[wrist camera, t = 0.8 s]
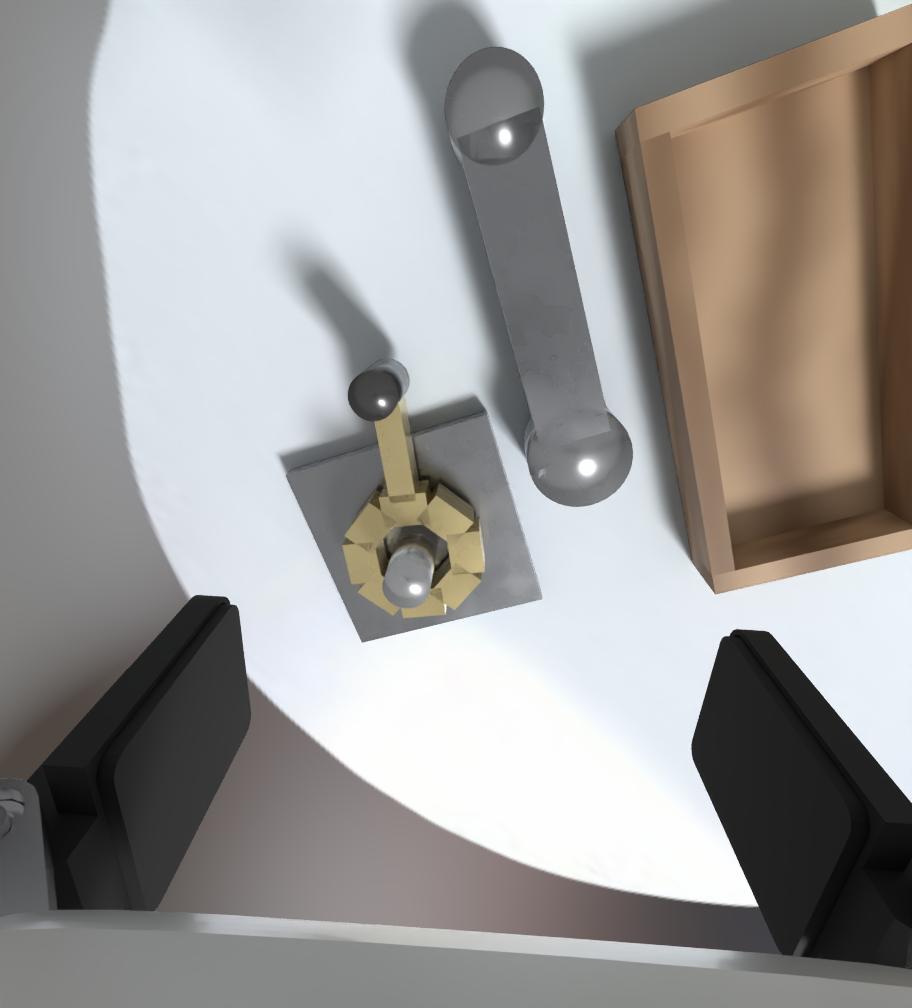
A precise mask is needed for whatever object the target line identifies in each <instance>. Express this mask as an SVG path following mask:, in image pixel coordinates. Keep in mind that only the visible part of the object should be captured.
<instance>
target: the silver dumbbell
mask: <svg viewBox="0 0 912 1008" xmlns="http://www.w3.org/2000/svg"><path fill="white" fill-rule="evenodd" d="M543 112H544V96H543V90H542V86H541V83H540V80H539V78H538V75H537V73H536V72H535V70H534V68H533V67H532V65H531V64H530V63H529V62H528V61H527V60H526V59H525V58H524V57H523V56H521V55H520V54H519V53H517V52H515V51H513V50H510V49H507V48H503V47H490V48H485V49H482V50H479V51H477V52H475V53H473V54H472V55H470V56H469V57H468V58H467V59H465V60H464V61H463V62H462V63H461V65H460V66H459V67H458V68H457V70H456V71H455V73H454V75H453V77H452V79H451V81H450V83H449V86H448V89H447V93H446V99H445V119H446V124H447V128H448V132H449V136H450V140H451V145H452V148H453V151H454V153H455V155H456V158H457V159H458V161H459V162H460V164H461V165H462V166H463V168H464V172H465V176H466V179H467V183H468V187H469V190H470V194H471V198H472V201H473V205H474V209H475V212H476V216H477V220H478V223H479V227H480V231H481V234H482V238H483V242H484V245H485V249H486V253H487V257H488V260H489V264H490V268H491V271H492V275H493V279H494V282H495V286H496V290H497V293H498V297H499V301H500V304H501V308H502V312H503V315H504V319H505V323H506V326H507V330H508V334H509V337H510V341H511V345H512V348H513V352H514V356H515V359H516V363H517V367H518V371H519V374H520V378H521V382H522V385H523V389H524V393H525V396H526V400H527V404H528V407H529V411H530V415H531V418H530V420H529V422H528V424H527V427H526V430H525V434H524V449H525V454H526V458H527V463H528V467H529V471H530V475H531V477H532V480H533V482H534V484H535V485H536V487H537V488H538V489H539V490H540V491H541V493H542V494H544V495H545V496H546V497H547V498H549V499H551V500H552V501H554V502H556V503H559V504H562V505H566V506H573V507H580V506H588V505H592V504H595V503H598V502H600V501H602V500H604V499H606V498H608V497H609V496H611V495H612V494H613V493H614V492H616V491H617V490H618V489H619V488H620V486H621V485H622V484H623V483H624V481H625V479H626V478H627V476H628V474H629V471H630V468H631V465H632V459H633V449H632V443H631V440H630V437H629V435H628V432H627V431H626V429H625V428H624V426H623V425H622V424H621V423H620V422H619V421H618V420H617V419H616V418H615V417H614V415H613V414H612V413H611V412H610V411H609V410H608V409H607V408H606V407H605V402H604V398H603V393H602V389H601V384H600V380H599V375H598V370H597V366H596V361H595V357H594V352H593V348H592V343H591V339H590V334H589V329H588V325H587V320H586V316H585V311H584V307H583V302H582V298H581V293H580V289H579V284H578V279H577V275H576V270H575V266H574V261H573V257H572V252H571V248H570V243H569V238H568V234H567V229H566V225H565V220H564V216H563V211H562V207H561V202H560V198H559V193H558V188H557V184H556V179H555V175H554V170H553V166H552V161H551V157H550V152H549V147H548V143H547V138H546V134H545V129H544V125H543V120H542V118H543Z"/></svg>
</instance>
